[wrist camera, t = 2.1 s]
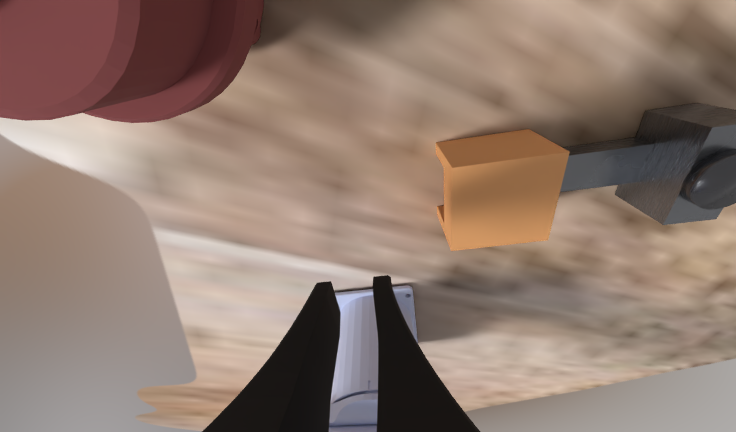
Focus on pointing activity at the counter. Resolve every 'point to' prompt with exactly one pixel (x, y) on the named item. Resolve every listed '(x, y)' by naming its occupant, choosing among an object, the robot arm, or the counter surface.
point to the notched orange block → (499, 188)
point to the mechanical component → (120, 56)
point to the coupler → (665, 164)
